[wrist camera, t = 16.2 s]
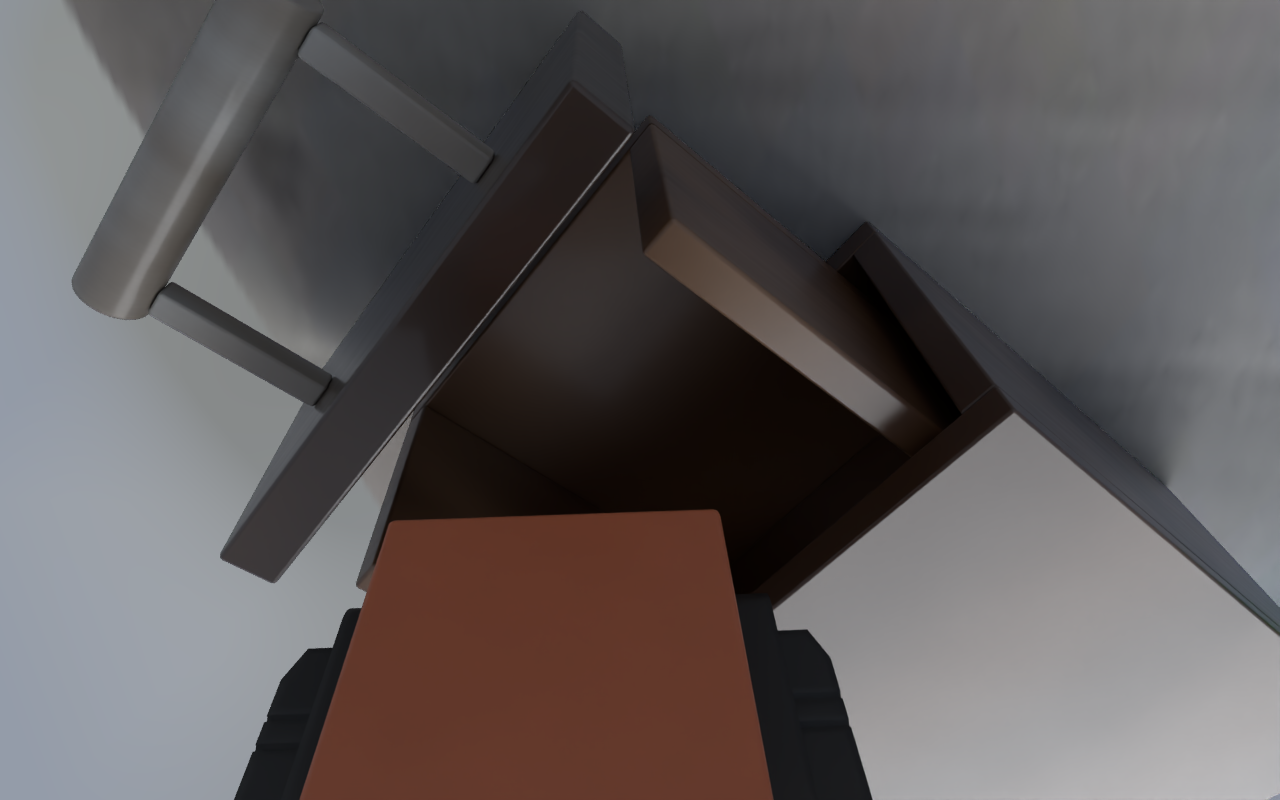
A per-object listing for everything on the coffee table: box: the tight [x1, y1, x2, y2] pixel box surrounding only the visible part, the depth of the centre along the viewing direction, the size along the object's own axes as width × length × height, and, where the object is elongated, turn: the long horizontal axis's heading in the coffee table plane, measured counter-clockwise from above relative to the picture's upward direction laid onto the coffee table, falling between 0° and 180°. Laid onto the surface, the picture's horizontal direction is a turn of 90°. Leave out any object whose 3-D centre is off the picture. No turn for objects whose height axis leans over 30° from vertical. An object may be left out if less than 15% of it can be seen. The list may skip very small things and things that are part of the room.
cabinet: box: [751, 222, 1280, 800], centre depth 23 cm, size 15×13×9 cm
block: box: [300, 509, 774, 800], centre depth 10 cm, size 4×4×4 cm
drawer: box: [72, 0, 962, 594], centre depth 19 cm, size 18×11×7 cm, turn 51°
